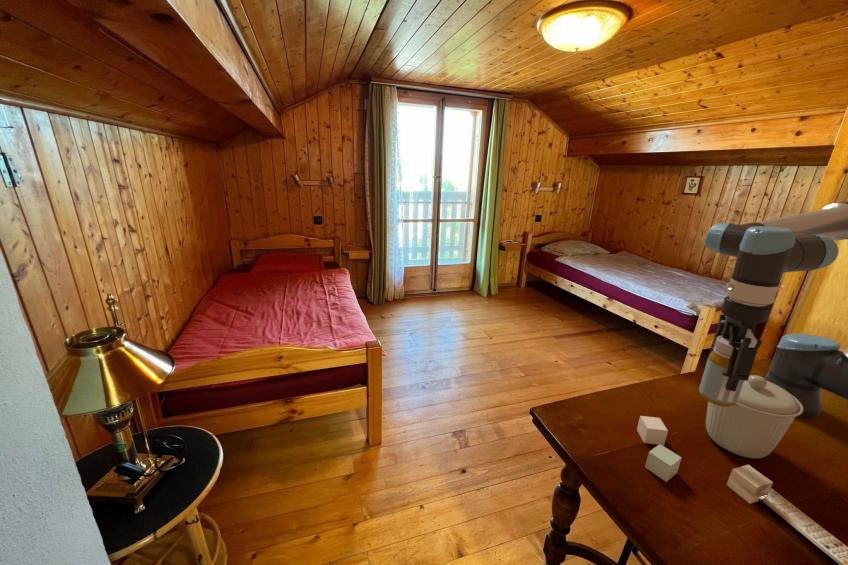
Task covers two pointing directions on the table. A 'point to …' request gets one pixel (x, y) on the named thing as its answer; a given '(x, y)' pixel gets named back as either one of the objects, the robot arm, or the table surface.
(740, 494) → the birch cube
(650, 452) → the sage cube
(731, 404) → the bottle
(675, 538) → the table surface
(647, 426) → the cream cube
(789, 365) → the robot arm
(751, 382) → the canister
